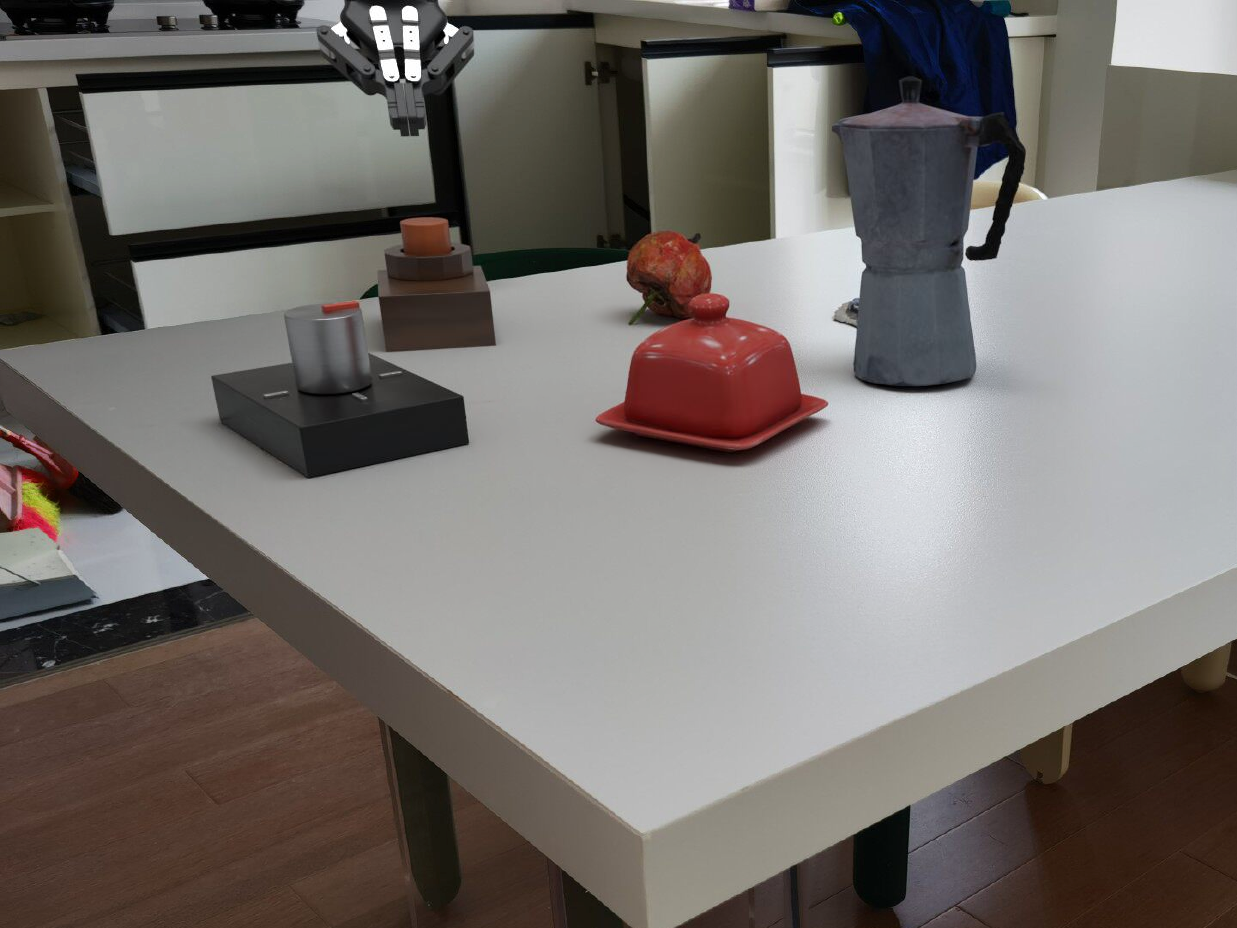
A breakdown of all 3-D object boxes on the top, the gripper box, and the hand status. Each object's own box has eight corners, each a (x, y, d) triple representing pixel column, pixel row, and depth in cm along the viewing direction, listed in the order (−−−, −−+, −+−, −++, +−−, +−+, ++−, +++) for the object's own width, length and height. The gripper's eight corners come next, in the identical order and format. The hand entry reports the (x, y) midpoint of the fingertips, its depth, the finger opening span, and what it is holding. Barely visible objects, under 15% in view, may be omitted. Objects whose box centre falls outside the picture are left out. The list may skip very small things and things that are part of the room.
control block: (496, 346, 107) (487, 266, 104) (386, 353, 104) (374, 271, 102) (485, 313, 116) (477, 240, 114) (384, 319, 114) (373, 244, 111)
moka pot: (863, 347, 108) (866, 68, 99) (1044, 377, 101) (1065, 79, 92) (795, 374, 101) (791, 75, 92) (985, 408, 94) (1001, 88, 85)
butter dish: (744, 469, 82) (740, 324, 78) (586, 439, 86) (574, 301, 83) (837, 419, 91) (837, 287, 87) (689, 395, 96) (683, 268, 92)
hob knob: (311, 398, 83) (297, 317, 81) (286, 382, 86) (272, 304, 84) (383, 386, 85) (372, 307, 83) (356, 371, 88) (344, 294, 86)
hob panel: (219, 422, 89) (210, 373, 87) (371, 394, 95) (364, 348, 93) (308, 478, 79) (299, 424, 78) (469, 443, 85) (463, 393, 84)
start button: (453, 257, 109) (449, 223, 108) (404, 259, 108) (400, 225, 107) (450, 249, 112) (446, 216, 111) (403, 251, 111) (399, 218, 110)
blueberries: (914, 308, 121) (914, 286, 120) (913, 330, 114) (914, 306, 113) (836, 306, 121) (836, 284, 120) (830, 328, 114) (830, 304, 113)
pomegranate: (675, 359, 113) (754, 271, 115) (616, 291, 108) (699, 201, 110) (635, 350, 118) (710, 266, 120) (577, 285, 114) (656, 199, 116)
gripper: (295, -78, 113) (316, 98, 108) (464, -74, 117) (492, 96, 112) (308, -7, 120) (328, 162, 115) (467, -5, 123) (494, 158, 118)
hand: (409, 129), depth 113 cm, fingers closed
